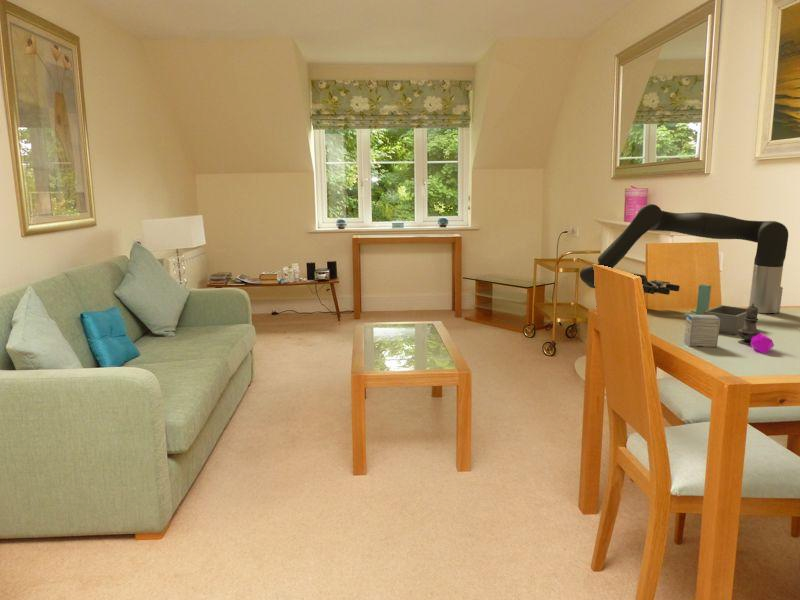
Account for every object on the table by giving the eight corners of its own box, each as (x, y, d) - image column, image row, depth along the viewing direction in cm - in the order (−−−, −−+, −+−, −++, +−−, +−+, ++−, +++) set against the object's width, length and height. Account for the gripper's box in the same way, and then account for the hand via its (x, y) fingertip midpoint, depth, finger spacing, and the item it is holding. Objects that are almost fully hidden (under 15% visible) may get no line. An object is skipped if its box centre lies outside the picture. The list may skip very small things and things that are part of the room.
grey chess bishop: (752, 346, 179) (757, 305, 177) (732, 342, 184) (737, 302, 182) (763, 344, 182) (768, 304, 180) (743, 339, 187) (748, 300, 185)
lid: (701, 310, 232) (705, 279, 230) (733, 315, 224) (737, 282, 222) (683, 316, 221) (686, 283, 218) (715, 321, 213) (719, 287, 211)
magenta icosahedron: (746, 349, 176) (748, 333, 175) (760, 347, 178) (762, 332, 177) (762, 354, 172) (765, 337, 171) (776, 352, 173) (779, 336, 173)
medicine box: (711, 343, 182) (714, 315, 180) (717, 347, 177) (720, 318, 176) (683, 342, 182) (686, 314, 181) (688, 346, 178) (691, 317, 176)
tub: (720, 322, 210) (721, 305, 209) (752, 327, 203) (754, 309, 202) (701, 329, 199) (703, 311, 198) (735, 335, 192) (737, 316, 191)
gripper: (623, 275, 230) (667, 282, 219) (640, 271, 240) (683, 277, 229) (621, 295, 232) (665, 303, 220) (638, 290, 241) (680, 297, 230)
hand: (674, 290), depth 225 cm, fingers open, 8 cm apart
